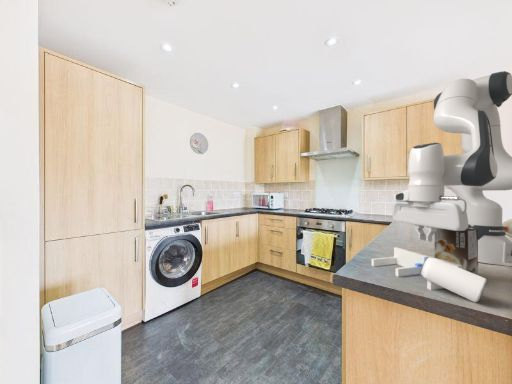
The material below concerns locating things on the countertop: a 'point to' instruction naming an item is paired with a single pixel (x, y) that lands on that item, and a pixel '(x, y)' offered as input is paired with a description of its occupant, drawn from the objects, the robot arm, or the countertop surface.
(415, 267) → the white pronged rack
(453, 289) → the can
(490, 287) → the countertop surface
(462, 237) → the coffee box
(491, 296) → the countertop surface
